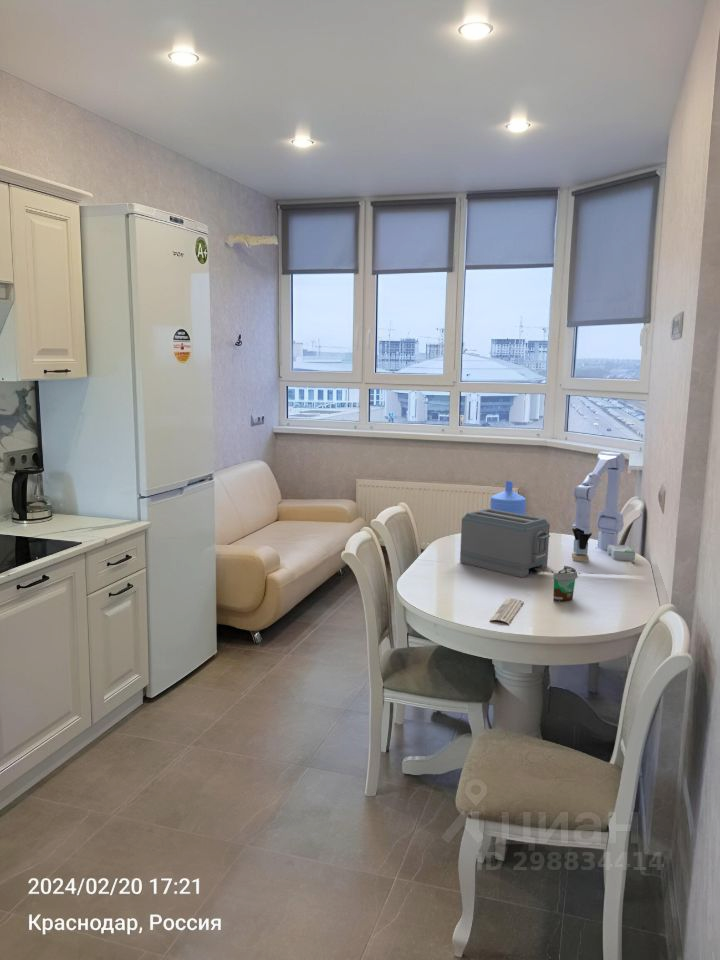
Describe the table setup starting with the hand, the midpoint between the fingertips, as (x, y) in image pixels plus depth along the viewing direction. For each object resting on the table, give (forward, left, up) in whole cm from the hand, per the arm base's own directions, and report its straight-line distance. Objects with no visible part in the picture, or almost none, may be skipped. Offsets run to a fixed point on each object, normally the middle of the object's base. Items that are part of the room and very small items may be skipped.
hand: (580, 547), depth 296 cm
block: (0, 0, -2) cm, 2 cm away
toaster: (+9, -32, -7) cm, 34 cm away
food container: (+49, -19, -6) cm, 53 cm away
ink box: (0, +18, -4) cm, 19 cm away
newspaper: (+64, -43, -7) cm, 77 cm away
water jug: (-31, -24, -6) cm, 40 cm away
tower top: (0, 0, -5) cm, 5 cm away
